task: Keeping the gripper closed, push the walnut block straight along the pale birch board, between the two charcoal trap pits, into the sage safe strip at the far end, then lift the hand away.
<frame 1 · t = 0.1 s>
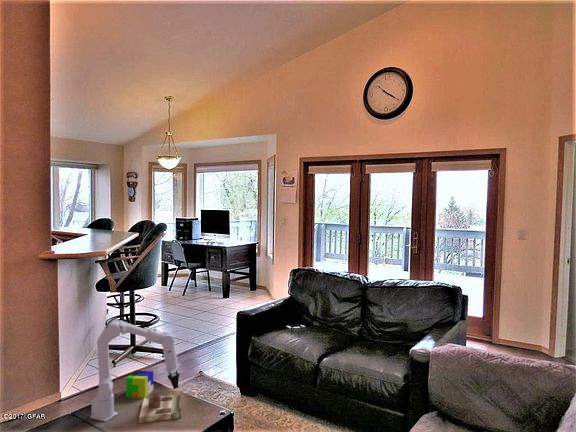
hand: (175, 384, 198), 11 cm above the table, tool pointing down, fingers open, 7 cm apart
trap board: (161, 410, 194), on the table
puzzle toy: (140, 393, 212), on the table
block: (154, 405, 193), point 2 cm above the table, touching trap board
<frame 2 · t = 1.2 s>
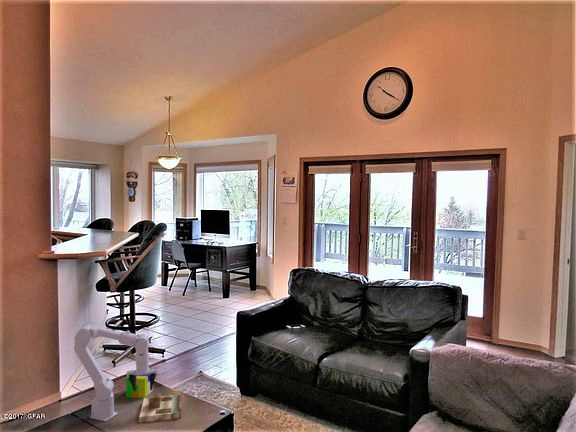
hand: (143, 389, 192), 11 cm above the table, tool pointing down, fingers open, 7 cm apart
nothing on the table moved.
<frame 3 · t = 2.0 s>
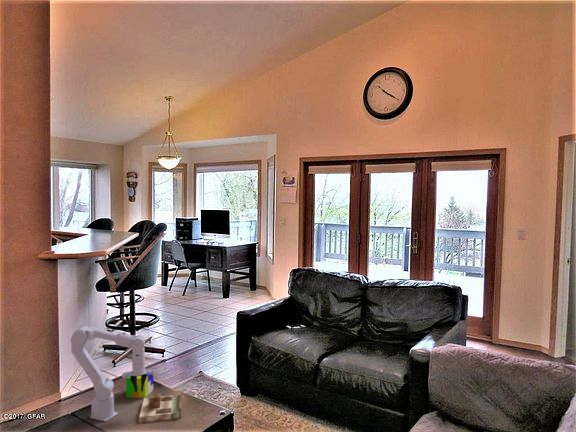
hand: (139, 390, 192), 10 cm above the table, tool pointing down, fingers closed
nothing on the table moved.
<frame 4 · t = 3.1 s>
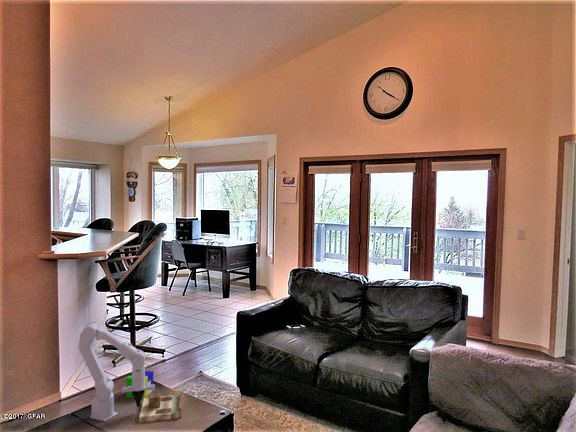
hand: (138, 406, 192), 3 cm above the table, tool pointing down, fingers closed
nothing on the table moved.
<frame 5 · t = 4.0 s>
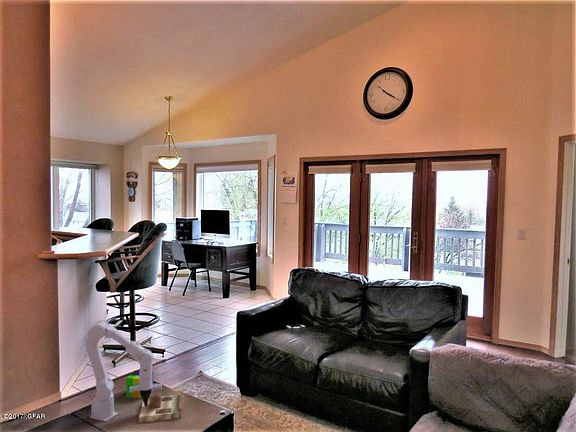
hand: (146, 405, 193), 3 cm above the table, tool pointing down, fingers closed
block: (155, 405, 194), point 3 cm above the table, touching gripper
everything else where it was.
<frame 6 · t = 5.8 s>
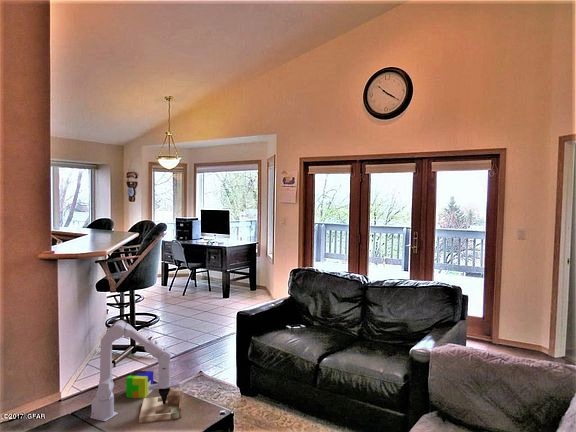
hand: (164, 403, 194), 3 cm above the table, tool pointing down, fingers closed
block: (173, 403, 195), point 3 cm above the table, touching gripper, trap board
everything else where it was.
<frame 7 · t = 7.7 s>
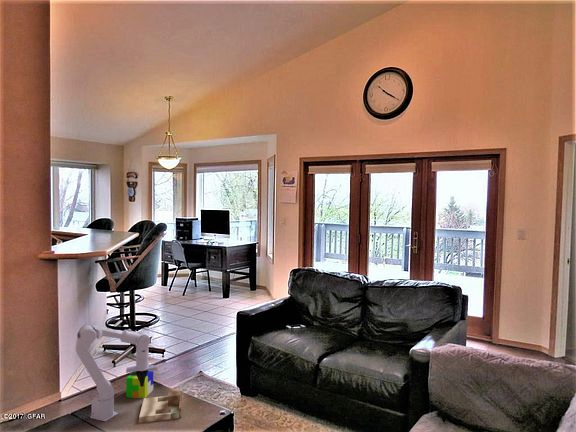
hand: (142, 385, 198), 10 cm above the table, tool pointing down, fingers closed
block: (173, 403, 195), point 2 cm above the table, touching trap board
everything else where it was.
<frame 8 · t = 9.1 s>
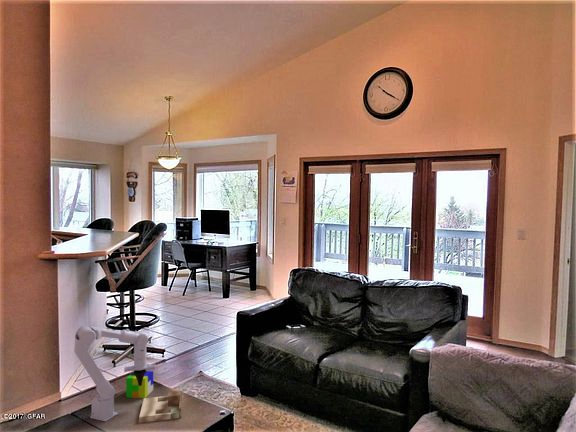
hand: (140, 384, 198), 10 cm above the table, tool pointing down, fingers closed
nothing on the table moved.
at the end: block 0.9 cm from the target spot, point 2.5 cm above the table; block tilted 0°; block moved 8.7 cm from its start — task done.
